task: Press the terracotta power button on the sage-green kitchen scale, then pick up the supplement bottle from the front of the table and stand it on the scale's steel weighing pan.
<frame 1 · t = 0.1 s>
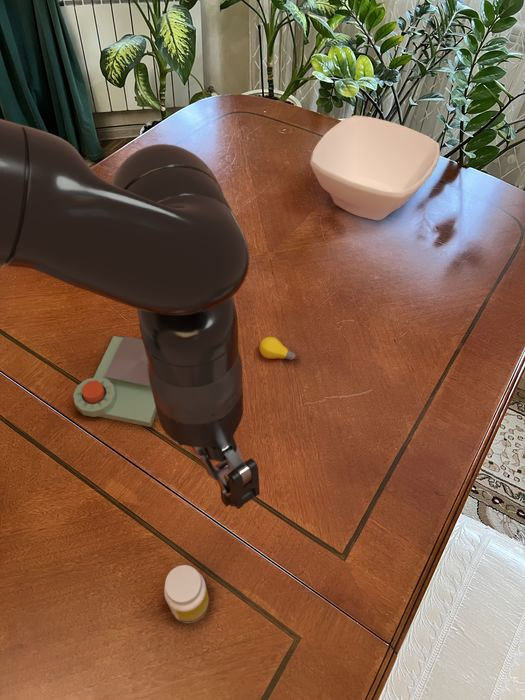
hand: (209, 468, 60), 19 cm above the table, tool pointing down, fingers open, 8 cm apart
candy box: (182, 305, 99), on the table
bowl: (366, 202, 116), on the table
supplement bottle: (189, 602, 70), on the table
power button: (93, 392, 84), point 3 cm above the table, slide at 0.2 cm
scale: (132, 381, 89), on the table
scale pan: (139, 361, 87), resting on scale
light bulb: (277, 356, 92), on the table
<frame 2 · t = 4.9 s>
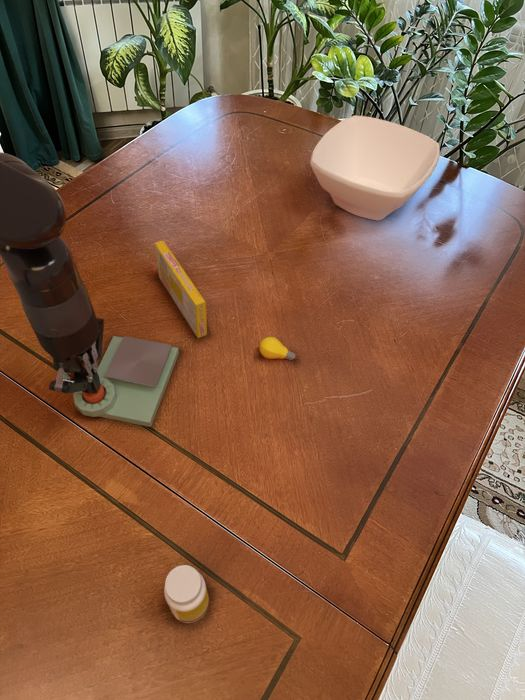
hand: (92, 388, 83), 4 cm above the table, tool pointing down, fingers closed
power button: (93, 392, 84), point 3 cm above the table, slide at 0.1 cm, touching gripper
everything else where it was.
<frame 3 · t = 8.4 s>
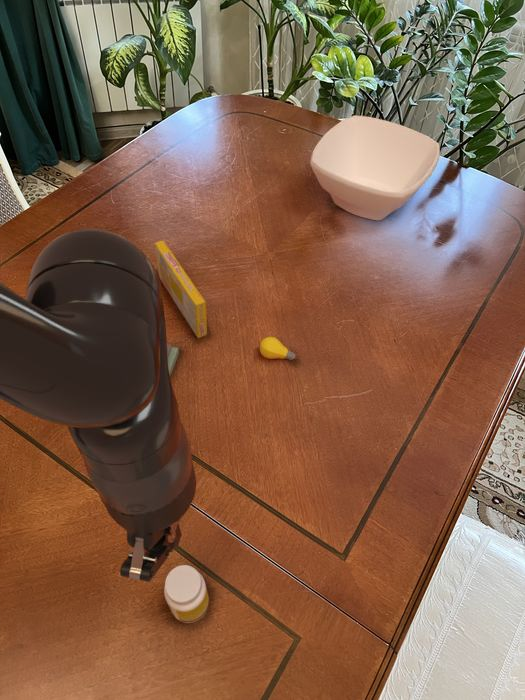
hand: (169, 540, 57), 17 cm above the table, tool pointing down, fingers closed
power button: (93, 392, 84), point 3 cm above the table, slide at 0.2 cm
everything else where it was.
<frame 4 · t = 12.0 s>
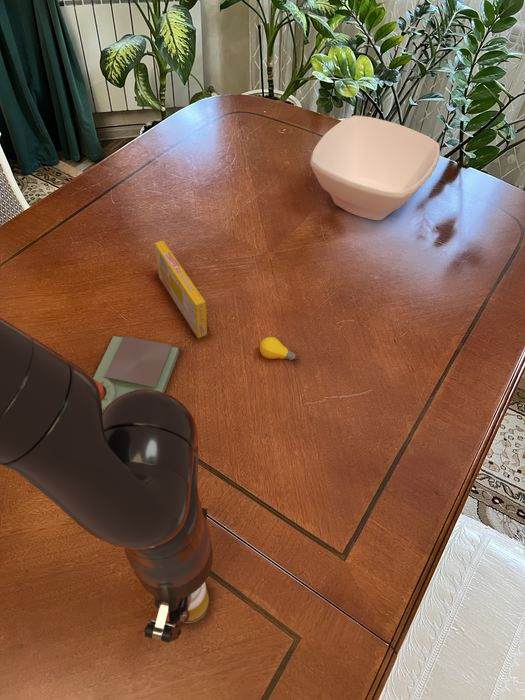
hand: (186, 593, 66), 4 cm above the table, tool pointing down, fingers closed on supplement bottle, 4 cm apart
supplement bottle: (189, 602, 70), on the table, touching gripper
everything else where it was.
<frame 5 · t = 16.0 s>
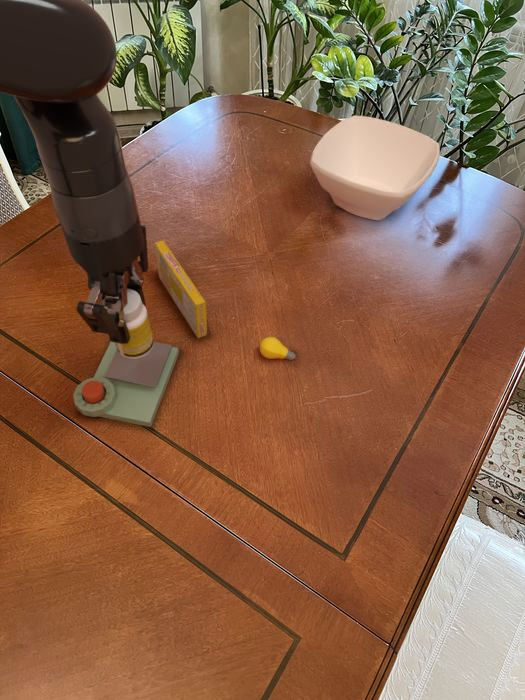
hand: (129, 323, 69), 21 cm above the table, tool pointing down, fingers closed on supplement bottle, 4 cm apart
supplement bottle: (135, 346, 73), point 16 cm above the table, touching gripper
everything else where it was.
when the fingers open (8 cm above the table, at t = 20.0 s): supplement bottle stays where it is, resting on scale pan.
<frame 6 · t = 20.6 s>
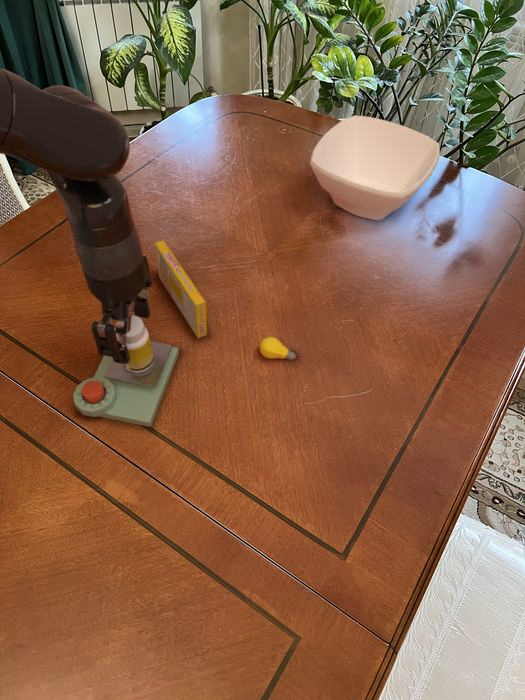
hand: (133, 338, 83), 9 cm above the table, tool pointing down, fingers open, 8 cm apart
supplement bottle: (139, 361, 87), point 3 cm above the table, touching scale pan
everything else where it was.
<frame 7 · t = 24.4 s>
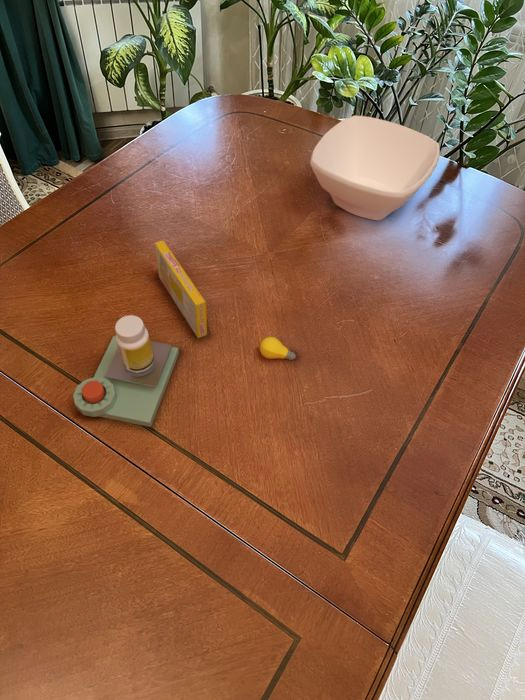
nothing on the table moved.
at the end: power button pushed in 0.7 cm at the most during the clip, back to 0.2 cm at the end; supplement bottle inside the target area on the scale (0.1 cm from its centre), point 3.1 cm above the scale's base; supplement bottle tilted 0° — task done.
